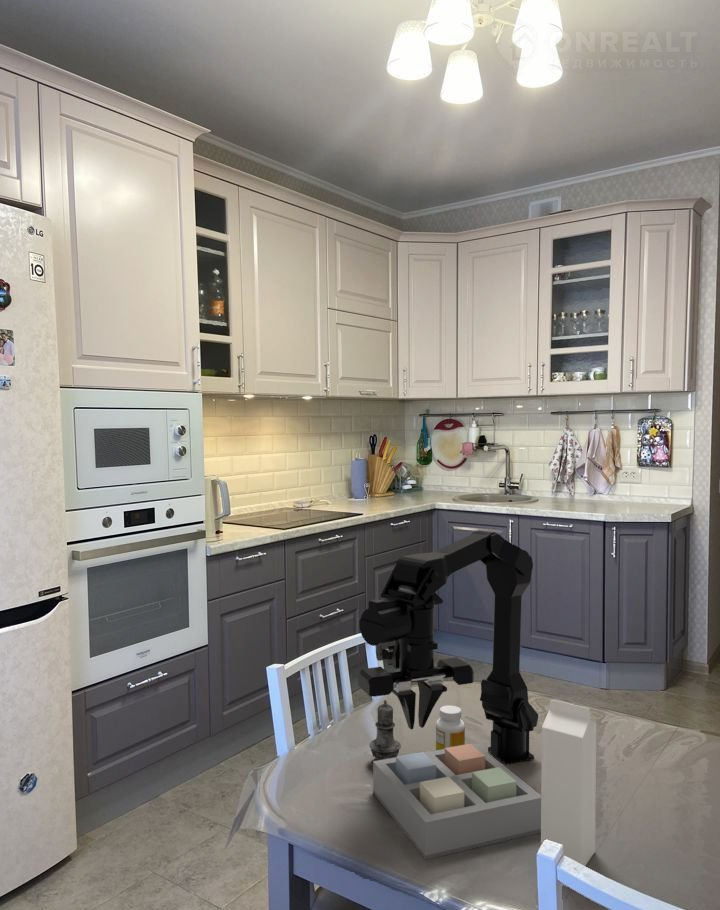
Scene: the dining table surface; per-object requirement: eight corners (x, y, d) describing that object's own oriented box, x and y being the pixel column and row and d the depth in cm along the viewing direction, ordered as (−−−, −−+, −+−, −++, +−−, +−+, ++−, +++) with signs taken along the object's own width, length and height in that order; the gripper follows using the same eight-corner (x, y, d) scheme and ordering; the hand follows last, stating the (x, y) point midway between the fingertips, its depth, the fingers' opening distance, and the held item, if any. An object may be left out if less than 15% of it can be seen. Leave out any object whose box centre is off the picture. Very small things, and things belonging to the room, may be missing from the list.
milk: (555, 838, 103) (556, 692, 103) (595, 852, 100) (597, 701, 100) (539, 857, 99) (541, 704, 98) (581, 873, 95) (583, 714, 95)
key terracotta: (470, 767, 120) (470, 743, 120) (485, 780, 115) (485, 756, 115) (444, 772, 118) (444, 748, 118) (458, 785, 113) (459, 760, 113)
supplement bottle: (466, 756, 130) (467, 705, 130) (461, 769, 125) (462, 716, 125) (439, 752, 132) (439, 702, 132) (432, 764, 127) (433, 712, 127)
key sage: (498, 792, 111) (498, 767, 111) (516, 808, 107) (516, 781, 106) (471, 798, 109) (471, 772, 109) (488, 814, 105) (488, 786, 105)
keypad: (475, 773, 124) (476, 743, 123) (542, 832, 105) (543, 797, 105) (373, 792, 116) (373, 761, 116) (425, 859, 98) (425, 822, 98)
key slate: (422, 776, 117) (422, 751, 116) (436, 790, 112) (436, 764, 112) (395, 781, 115) (395, 756, 115) (408, 795, 110) (408, 769, 110)
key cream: (448, 803, 108) (448, 776, 108) (464, 819, 103) (464, 791, 103) (419, 808, 106) (419, 782, 106) (434, 825, 101) (434, 797, 101)
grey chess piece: (398, 773, 124) (398, 707, 123) (366, 769, 125) (366, 704, 125) (402, 758, 129) (403, 695, 129) (372, 755, 130) (372, 692, 130)
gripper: (443, 617, 124) (443, 702, 124) (346, 626, 117) (346, 717, 117) (475, 633, 113) (474, 726, 114) (371, 644, 107) (370, 743, 107)
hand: (416, 727), depth 113 cm, fingers closed
